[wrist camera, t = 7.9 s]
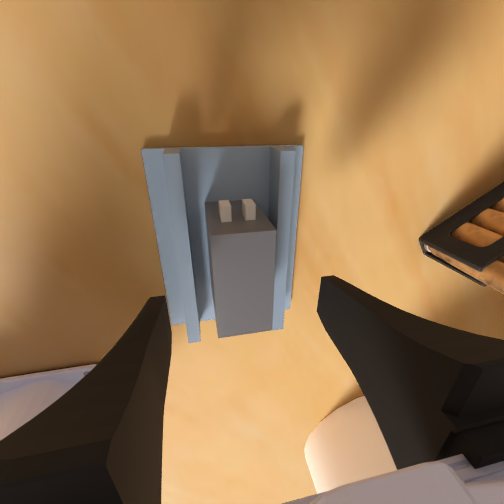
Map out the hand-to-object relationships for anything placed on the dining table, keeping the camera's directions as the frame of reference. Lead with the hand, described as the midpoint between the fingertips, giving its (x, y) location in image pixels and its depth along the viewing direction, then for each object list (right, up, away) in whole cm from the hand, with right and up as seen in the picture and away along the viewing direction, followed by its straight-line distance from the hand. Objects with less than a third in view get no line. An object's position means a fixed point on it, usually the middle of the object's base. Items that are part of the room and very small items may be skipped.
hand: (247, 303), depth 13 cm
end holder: (-1, +3, +6) cm, 7 cm away
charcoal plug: (-1, +3, +5) cm, 6 cm away
